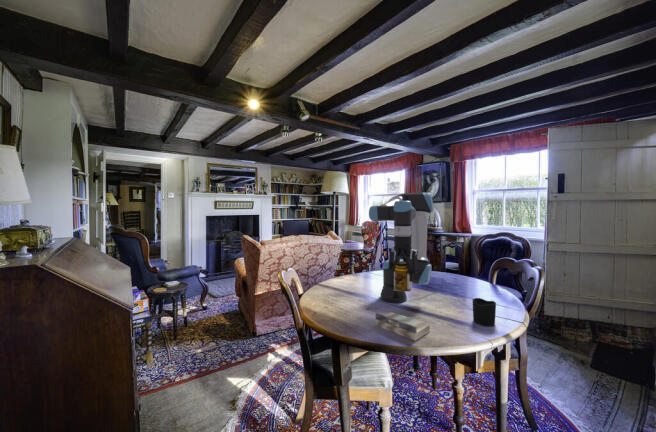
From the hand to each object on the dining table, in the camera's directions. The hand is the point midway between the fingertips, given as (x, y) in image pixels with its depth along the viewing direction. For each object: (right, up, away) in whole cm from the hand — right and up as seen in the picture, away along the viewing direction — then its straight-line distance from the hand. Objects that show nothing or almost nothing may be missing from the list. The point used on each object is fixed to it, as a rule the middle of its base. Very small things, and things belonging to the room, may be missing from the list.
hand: (402, 286), depth 120 cm
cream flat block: (-1, -19, 0) cm, 19 cm away
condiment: (0, -1, 0) cm, 1 cm away
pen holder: (+39, -18, +5) cm, 43 cm away
